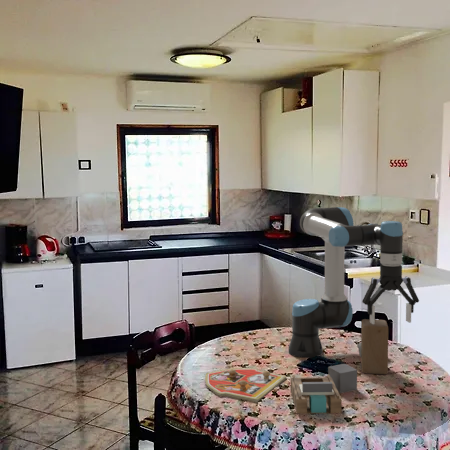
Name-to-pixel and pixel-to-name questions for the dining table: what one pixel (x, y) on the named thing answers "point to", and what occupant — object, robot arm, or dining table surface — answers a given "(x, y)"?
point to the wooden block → (374, 347)
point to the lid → (316, 388)
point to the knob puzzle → (242, 383)
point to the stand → (343, 377)
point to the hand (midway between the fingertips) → (390, 322)
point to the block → (317, 403)
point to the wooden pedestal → (303, 400)
